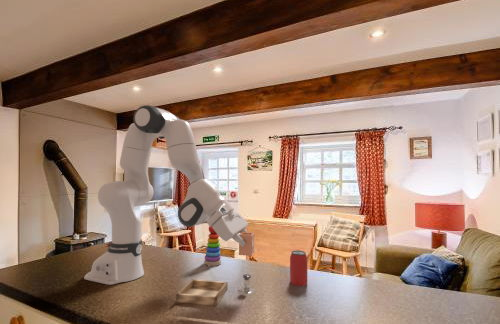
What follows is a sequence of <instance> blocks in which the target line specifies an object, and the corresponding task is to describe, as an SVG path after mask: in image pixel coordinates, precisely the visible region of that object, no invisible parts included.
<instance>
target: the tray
mask: <svg viewBox="0 0 500 324" xmlns="http://www.w3.org/2000/svg"><path fill="white" fill-rule="evenodd" d="M228 287H229V286H228V282H226V281H217V280H208V279H207V280H206V279H193V278H192V279H191V280H190V281H189V282H188V283H186V285H185V286H183V287H182V288H181V289H180V290H179V291H178V292H177V293H176V294H175V295H176V299H175V300H176V301H175V304H178V303H182V304H184V303H185V304H192V305H193V304H194V305H202V306H203V305H204V306H211V307H217V306H218V304H219V303H220V302H221V300H222V298H224V295H225V293H227V291H228Z"/></svg>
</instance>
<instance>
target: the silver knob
mask: <svg viewBox="0 0 500 324" xmlns="http://www.w3.org/2000/svg"><path fill="white" fill-rule="evenodd" d="M242 278H243V287H241V288H239V289H238V290H237V293H238V294H239V295H240V296H247V297H248V296H253V295H255V294H256V292H257V290H256V289H255V288H253V287H251V286H250V285H251V282H250V281H251V278H252V275H251V274H249V273H246V274H243V275H242Z"/></svg>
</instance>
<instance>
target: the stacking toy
mask: <svg viewBox="0 0 500 324" xmlns="http://www.w3.org/2000/svg"><path fill="white" fill-rule="evenodd" d="M208 232H209V234H208V236H207V237H208V239H207V243H206V246H207V247H206V251H205V256H204V260H203V263H204V264H205V265H206V266H210V267H216V266H219V265H221V264H222V259H221V258H222V257H221V254H222V253H221V247H220V246H221V243H220V236H219V235H218V234H217V233H216V232H215V231H214V229H213V227H212V226H209V225H208Z"/></svg>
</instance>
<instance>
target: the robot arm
mask: <svg viewBox="0 0 500 324" xmlns="http://www.w3.org/2000/svg"><path fill="white" fill-rule="evenodd" d="M157 138H159V139H160V140H163V139H165V141H166V142H165V144H166V150H167V156H168V160H169V162H170V165H171V166H172V167H173V168H174V169H176V170H178V171H179V172H180V173H182V174H183V175H185V177H186V178H187V180H188V182H189V185H188V187H187V193H186V196H185V198H184V200H183V202H182V203H181V204H180V206H179V208H178V210H177V218H178V221H179V223H180V224H181V225H183V226H184V227H186V228H187V227H188V228H191V227H195V226H199V225H203V224H207V225H208V227H209V226H212V227H213V229H214V231H215V232H216V233H217V234H218V235H219V238H220V239H222V241H224V242H228V241H229V240H231V239H232V240H233V241H235V242H236V243H238V245H239V244H240V245H241V246H242V247H243V246H244V245H245V244H246V241H245V240H244V239H242V238H241V237H240V236H239V234H240V233H242V232H248V231H247V228H248V227H249V223H248V221H247V220H246V219H245V218H244V217H243V216H242V215H241V214H240V213H239V212H237V211H235V208H234V207H233V205H231V203H230V202H229V201H228V200H227V199H226V197H223V196H222V195H221V193H220V191H219V190H218V188H216V186H215V185H214V184H213V183H212V182H211V181H210V180H208V179H206V178H205V175H204V172H203V168H202V165H201V162H200V159H199V154H198V151H197V145H196V144H197V143H196V139H195V136H194V132H193V129H192V127H191V125H190V123H189V122H188V121H186V120H185V119H181V118H179V117H178V115H176V114H174V113H171V112H170V111H168V110H165V109H164V108H159V107H156V106H155V105H154V106H153V105H148V104H147V105H141V106H139V107H138V108H137V109H136V110H135V112H134V115H133V123H131V124H130V125H129V126H128V128H127V130H126V134H125V136H124V140H123V143H122V149H121V153H120V154H121V155H120V158H119V166H120V168H121V169H122V170H123V171H124V177H125V178H124V179H125V180H114V181H111V182H106V183H104V184H103V185H101V187H99V190H98V193H97V200H98V202H99V205H100V206H102V208H104V209H105V210H106V211H107V213H108V215H109V218H110V223H111V241H110V242H109V243H106V244H105V246H104V247H105V248H107V247H108V248H107V251H105V252H104V253H103V254H101V255H100V256H99V257H98V258H96V259H95V260H94V261H93V263H92V266H91V271H89V272H87V273H86V274H85V275H84V278H83V279H84V280H87V281H90V282H95V283H98V284H99V283H100V284H103V285H104V284H105V285H109V286H111V285H116V284H119V283H126V282H130V281H131V282H132V281H133V280H137V279H139V278H141V277H143V276H144V275H145V271H144V266H143V262H142V260H143V259H142V251H143V240H142V219H141V218H139V217H137V215H136V213H135V208H134V207H139V206H143V205H145V204H147V203H149V202H150V201H151V200H152V199H153V197H154V194H155V191H154V187H153V185H151V182H150V178H149V164H150V159H151V153H152V149H153V148H152V147H153V142H154V141H155V140H156V139H157Z"/></svg>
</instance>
